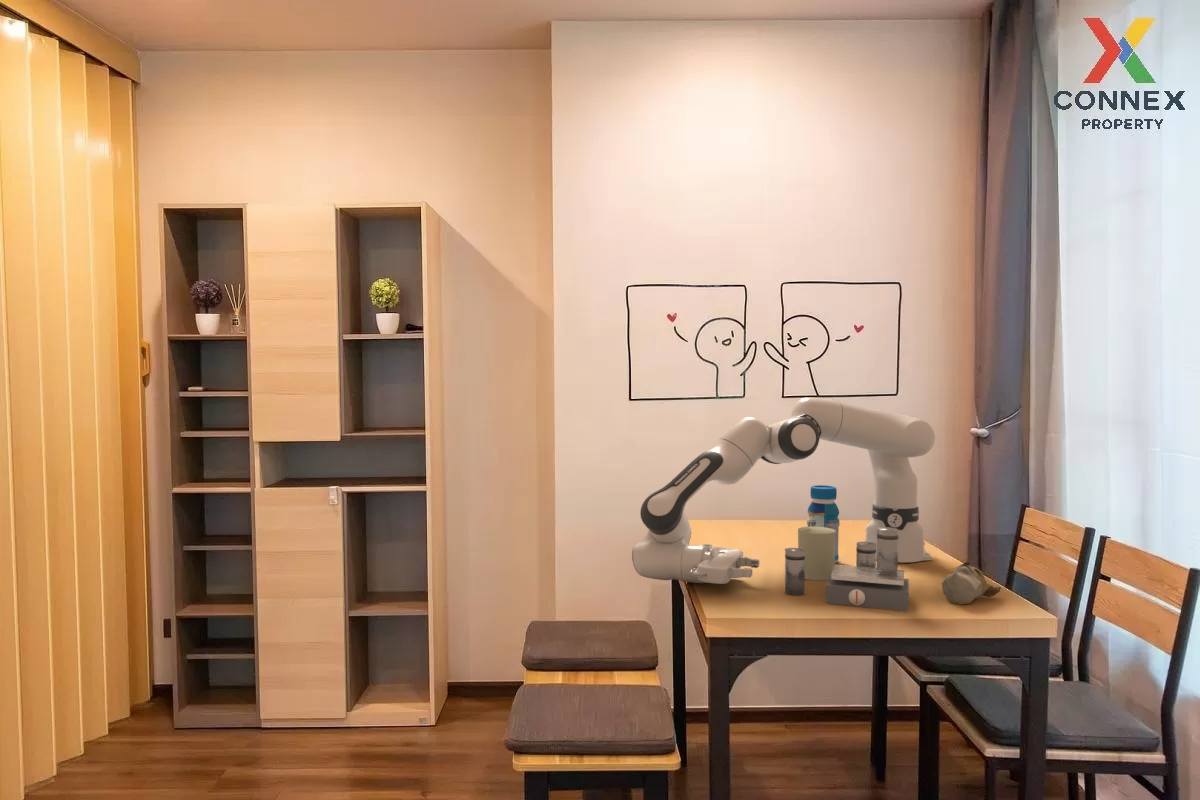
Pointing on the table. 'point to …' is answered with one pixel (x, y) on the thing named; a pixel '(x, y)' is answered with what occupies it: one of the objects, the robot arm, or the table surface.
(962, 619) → the table surface
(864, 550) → the cylinder
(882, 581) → the scale pan
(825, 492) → the beverage bottle
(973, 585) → the ceramic sculpture
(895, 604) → the scale body
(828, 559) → the can
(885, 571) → the cylinder
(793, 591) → the cylinder
